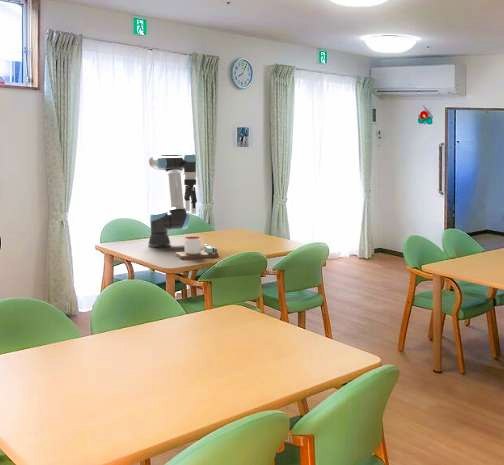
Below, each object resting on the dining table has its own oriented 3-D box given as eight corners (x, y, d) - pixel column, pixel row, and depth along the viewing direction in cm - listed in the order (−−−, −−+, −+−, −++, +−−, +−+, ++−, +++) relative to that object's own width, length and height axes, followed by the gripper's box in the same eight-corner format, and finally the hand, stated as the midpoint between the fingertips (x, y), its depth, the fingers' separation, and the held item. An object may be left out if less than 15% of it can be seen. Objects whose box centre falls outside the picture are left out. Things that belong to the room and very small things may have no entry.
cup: (198, 255, 383) (198, 239, 381) (182, 254, 385) (182, 238, 383) (202, 252, 393) (202, 236, 391) (187, 251, 394) (187, 236, 393)
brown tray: (175, 255, 393) (174, 247, 393) (211, 252, 402) (211, 244, 401) (181, 259, 380) (181, 251, 379) (218, 256, 389) (218, 248, 388)
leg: (203, 249, 399) (203, 244, 398) (208, 249, 400) (208, 244, 399) (208, 253, 387) (207, 247, 387) (212, 252, 388) (212, 247, 388)
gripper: (179, 177, 401) (179, 210, 405) (190, 180, 378) (190, 214, 382) (190, 177, 404) (190, 209, 407) (201, 179, 381) (202, 214, 385)
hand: (190, 212), depth 395 cm, fingers open, 13 cm apart
